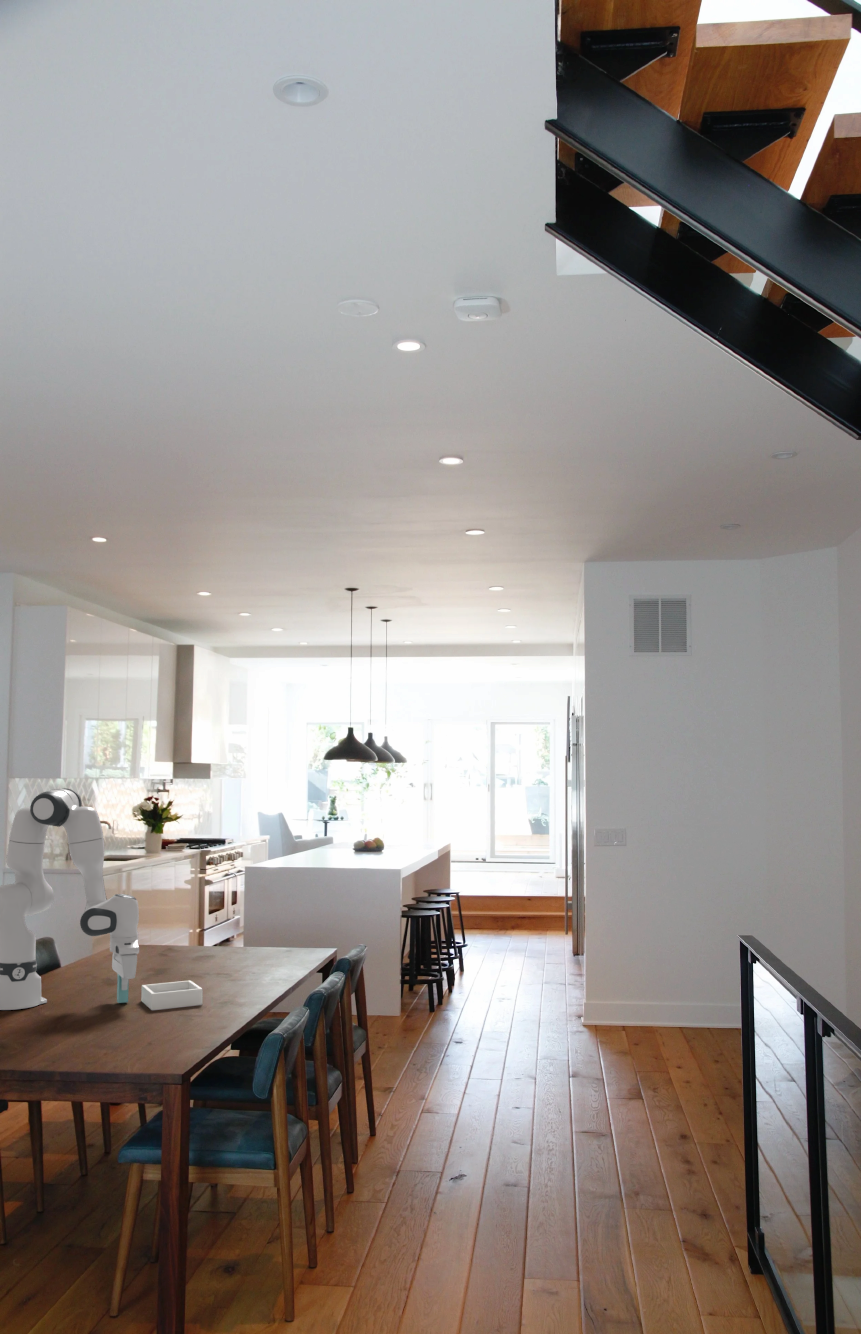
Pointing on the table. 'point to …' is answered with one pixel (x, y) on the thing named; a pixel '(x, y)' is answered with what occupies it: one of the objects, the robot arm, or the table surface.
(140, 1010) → the table surface
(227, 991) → the table surface
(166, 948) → the table surface
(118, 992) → the peg
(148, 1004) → the box
